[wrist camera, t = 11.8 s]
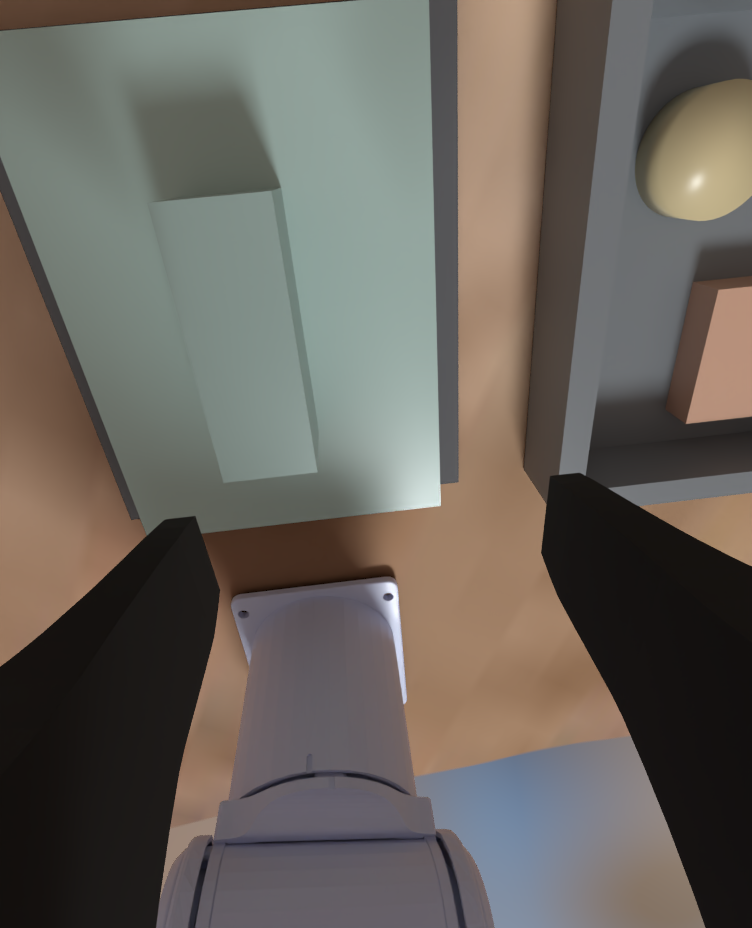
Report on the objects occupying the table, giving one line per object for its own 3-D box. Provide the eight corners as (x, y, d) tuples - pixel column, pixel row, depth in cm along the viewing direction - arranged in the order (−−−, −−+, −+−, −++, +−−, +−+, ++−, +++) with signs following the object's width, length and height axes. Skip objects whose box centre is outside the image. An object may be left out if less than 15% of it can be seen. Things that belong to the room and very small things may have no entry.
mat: (456, 477, 22) (458, 482, 22) (134, 514, 22) (131, 519, 22) (454, -5, 14) (457, -10, 14) (-52, 38, 14) (-62, 35, 14)
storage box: (788, 439, 23) (858, 479, 20) (523, 469, 23) (554, 516, 19) (964, -49, 15) (1127, -106, 12) (558, -14, 15) (619, -63, 11)
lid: (435, 490, 22) (456, 552, 19) (156, 522, 22) (122, 592, 18) (421, 7, 14) (453, -50, 11) (-19, 45, 14) (-142, 0, 10)
